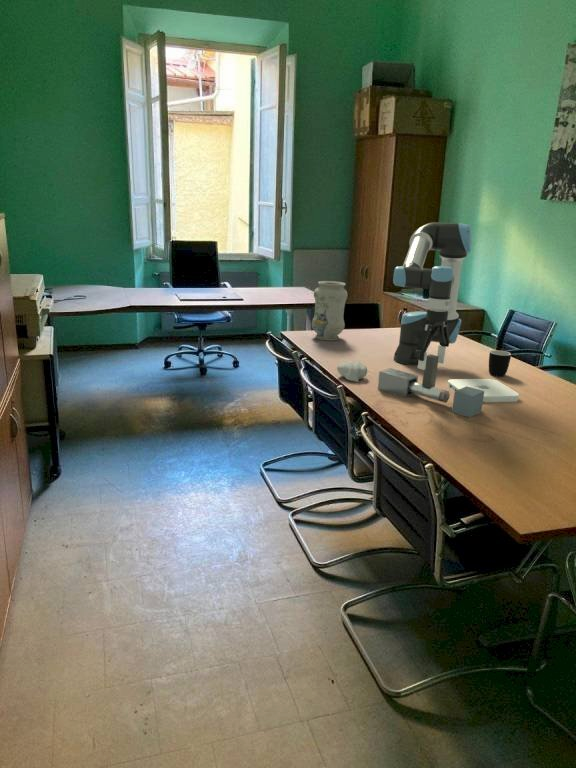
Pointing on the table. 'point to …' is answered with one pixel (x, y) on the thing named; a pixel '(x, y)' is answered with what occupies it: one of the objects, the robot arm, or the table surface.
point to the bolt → (429, 382)
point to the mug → (499, 362)
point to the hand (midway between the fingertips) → (430, 365)
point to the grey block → (468, 401)
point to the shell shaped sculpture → (352, 370)
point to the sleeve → (396, 382)
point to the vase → (329, 310)
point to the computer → (486, 389)
